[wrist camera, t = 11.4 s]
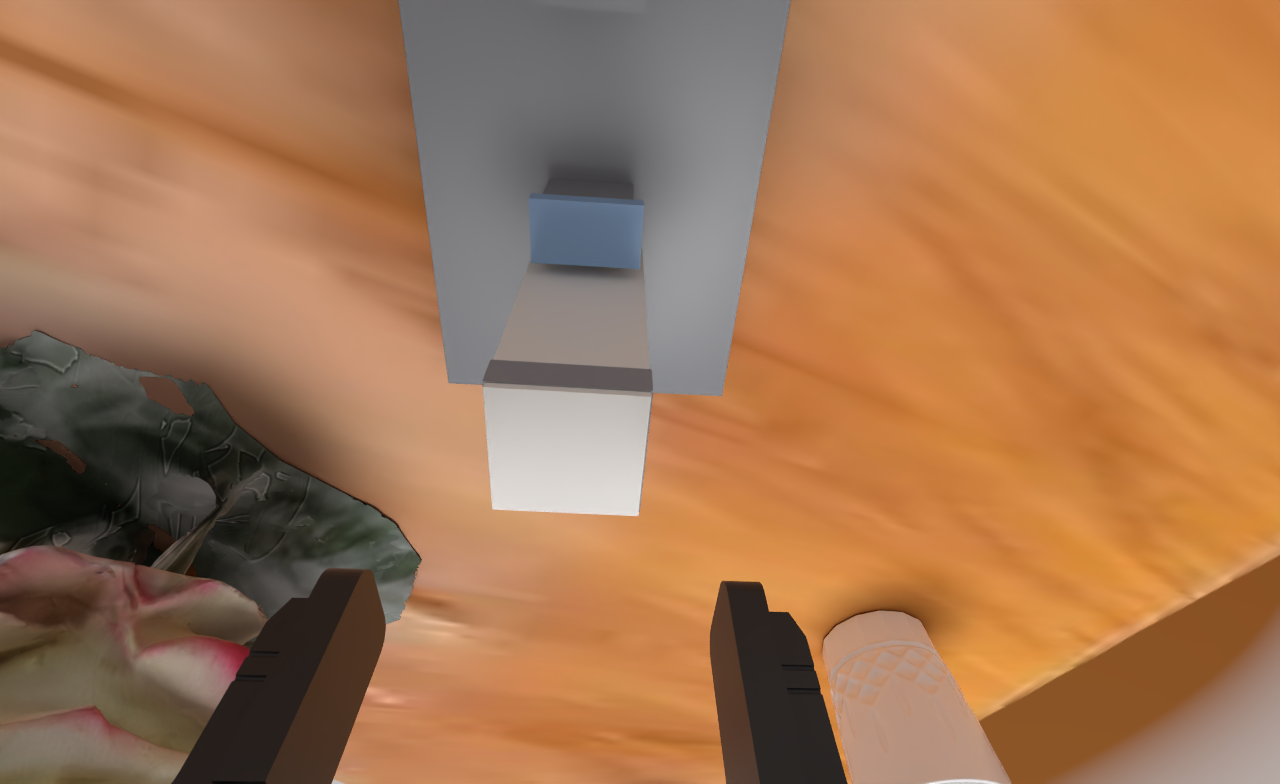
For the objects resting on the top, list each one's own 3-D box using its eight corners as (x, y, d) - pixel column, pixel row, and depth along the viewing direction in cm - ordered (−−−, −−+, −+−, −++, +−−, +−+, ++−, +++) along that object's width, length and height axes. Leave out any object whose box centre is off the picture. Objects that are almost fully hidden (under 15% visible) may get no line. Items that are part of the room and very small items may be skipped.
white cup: (894, 585, 36) (975, 763, 27) (956, 640, 39) (1046, 814, 31) (788, 641, 39) (832, 818, 30) (854, 688, 42) (911, 859, 33)
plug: (535, 241, 22) (480, 385, 14) (643, 249, 23) (653, 395, 14) (537, 337, 25) (490, 510, 16) (635, 343, 25) (639, 517, 16)
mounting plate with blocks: (354, -458, 14) (260, -616, 10) (848, -399, 15) (920, -529, 11) (455, 369, 27) (428, 426, 23) (718, 382, 27) (732, 440, 24)
